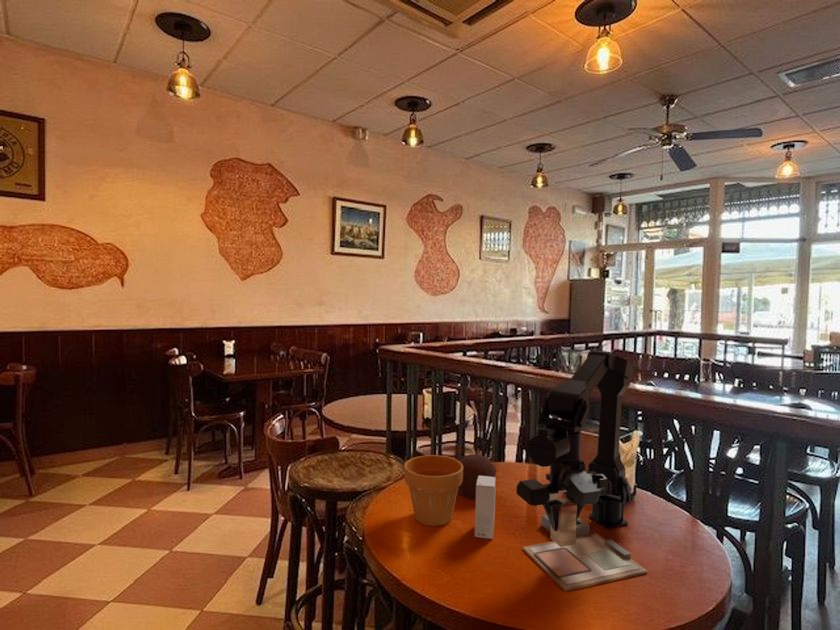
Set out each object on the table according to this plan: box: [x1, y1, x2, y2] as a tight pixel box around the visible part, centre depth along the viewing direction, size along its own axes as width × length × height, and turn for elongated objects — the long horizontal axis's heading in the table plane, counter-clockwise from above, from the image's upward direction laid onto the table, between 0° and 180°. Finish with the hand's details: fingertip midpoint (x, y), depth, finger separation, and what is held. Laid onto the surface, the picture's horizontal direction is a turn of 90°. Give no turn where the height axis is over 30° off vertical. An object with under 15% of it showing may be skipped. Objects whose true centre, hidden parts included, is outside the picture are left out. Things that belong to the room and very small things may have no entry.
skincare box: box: [474, 475, 496, 540], centre depth 108 cm, size 6×4×12 cm
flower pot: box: [403, 454, 463, 527], centre depth 115 cm, size 14×14×13 cm
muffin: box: [458, 453, 498, 501], centre depth 130 cm, size 12×11×10 cm
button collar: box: [541, 513, 591, 537], centre depth 110 cm, size 8×8×2 cm
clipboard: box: [522, 533, 648, 592], centre depth 98 cm, size 19×15×2 cm
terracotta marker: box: [549, 497, 577, 547], centre depth 96 cm, size 4×4×8 cm
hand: (563, 528), depth 96 cm, fingers closed on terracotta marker, 3 cm apart
